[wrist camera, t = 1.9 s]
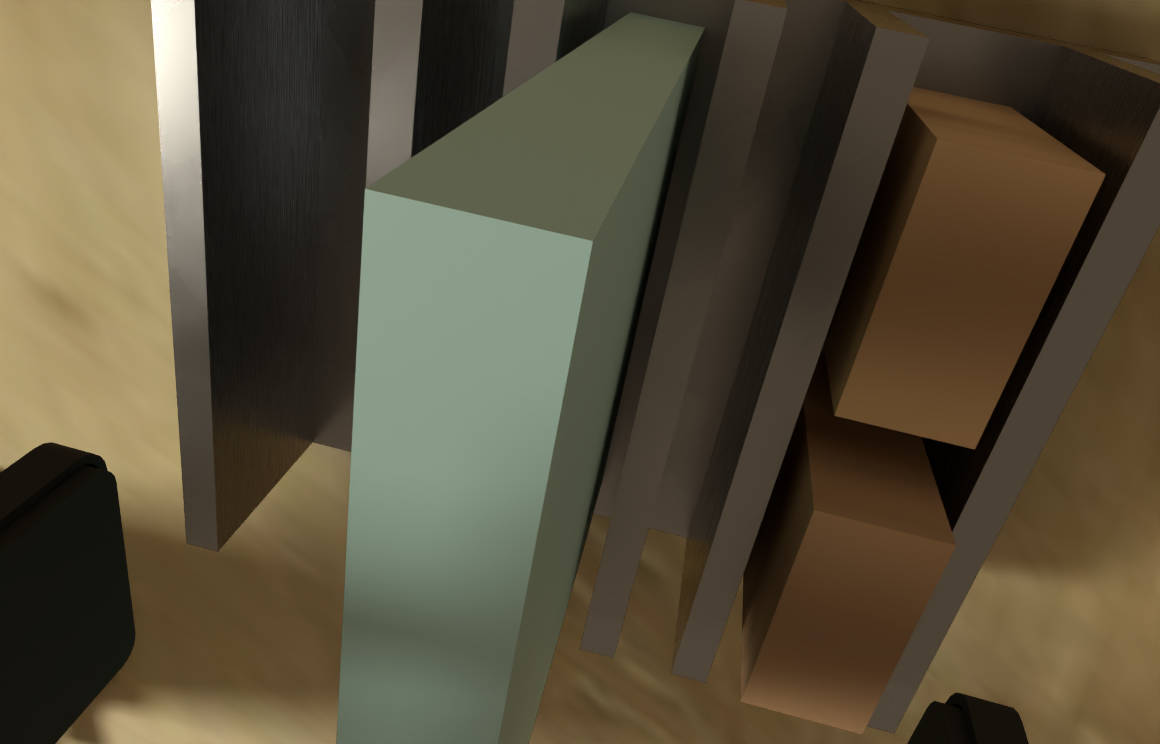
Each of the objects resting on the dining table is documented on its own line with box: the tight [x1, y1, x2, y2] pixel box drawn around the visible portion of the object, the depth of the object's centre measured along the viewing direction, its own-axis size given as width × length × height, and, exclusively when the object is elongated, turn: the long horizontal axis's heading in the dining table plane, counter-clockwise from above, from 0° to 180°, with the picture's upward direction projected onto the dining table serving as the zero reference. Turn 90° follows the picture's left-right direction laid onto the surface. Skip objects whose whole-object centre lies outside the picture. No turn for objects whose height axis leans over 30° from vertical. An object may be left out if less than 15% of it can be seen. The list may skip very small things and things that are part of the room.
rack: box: [151, 0, 1160, 733], centre depth 19 cm, size 14×20×6 cm
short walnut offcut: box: [823, 87, 1106, 449], centre depth 16 cm, size 5×2×6 cm, turn 170°
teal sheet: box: [336, 12, 705, 744], centre depth 15 cm, size 12×2×14 cm, turn 170°
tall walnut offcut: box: [741, 356, 956, 734], centre depth 19 cm, size 5×2×6 cm, turn 170°
